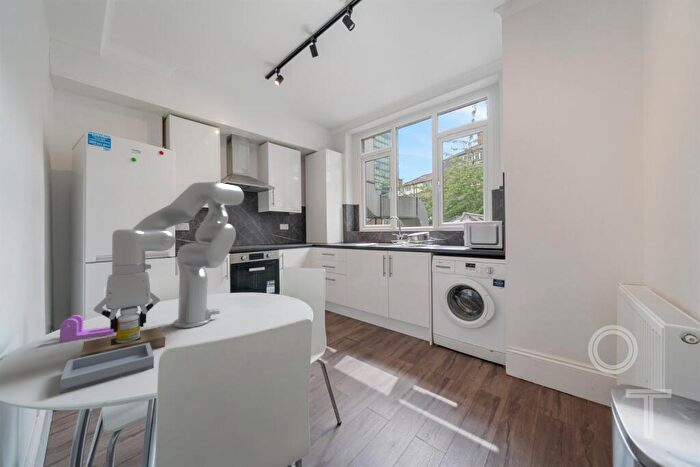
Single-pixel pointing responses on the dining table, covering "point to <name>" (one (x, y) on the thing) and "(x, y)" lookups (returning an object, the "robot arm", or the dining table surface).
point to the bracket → (80, 330)
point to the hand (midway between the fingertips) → (128, 327)
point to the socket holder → (110, 343)
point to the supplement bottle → (128, 325)
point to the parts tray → (106, 366)
